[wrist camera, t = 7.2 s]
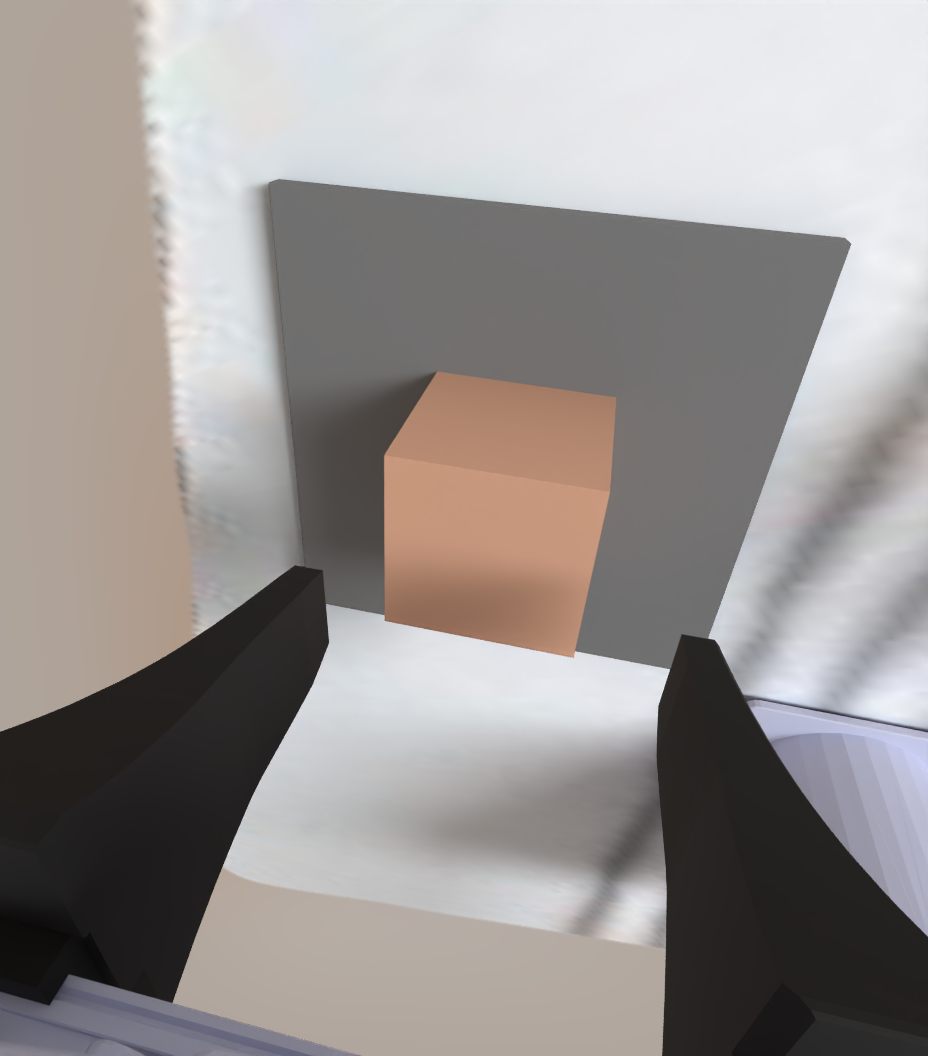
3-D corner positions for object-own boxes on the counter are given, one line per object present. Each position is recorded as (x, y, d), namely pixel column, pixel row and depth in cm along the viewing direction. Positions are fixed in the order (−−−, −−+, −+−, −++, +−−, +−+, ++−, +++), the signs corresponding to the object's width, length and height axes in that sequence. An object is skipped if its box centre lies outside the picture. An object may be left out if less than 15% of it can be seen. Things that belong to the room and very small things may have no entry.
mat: (693, 661, 24) (695, 673, 24) (314, 590, 26) (308, 600, 26) (844, 238, 16) (851, 243, 16) (278, 179, 18) (268, 182, 17)
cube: (586, 544, 22) (573, 657, 18) (430, 518, 22) (384, 620, 18) (616, 397, 19) (610, 491, 15) (437, 371, 19) (383, 455, 15)
